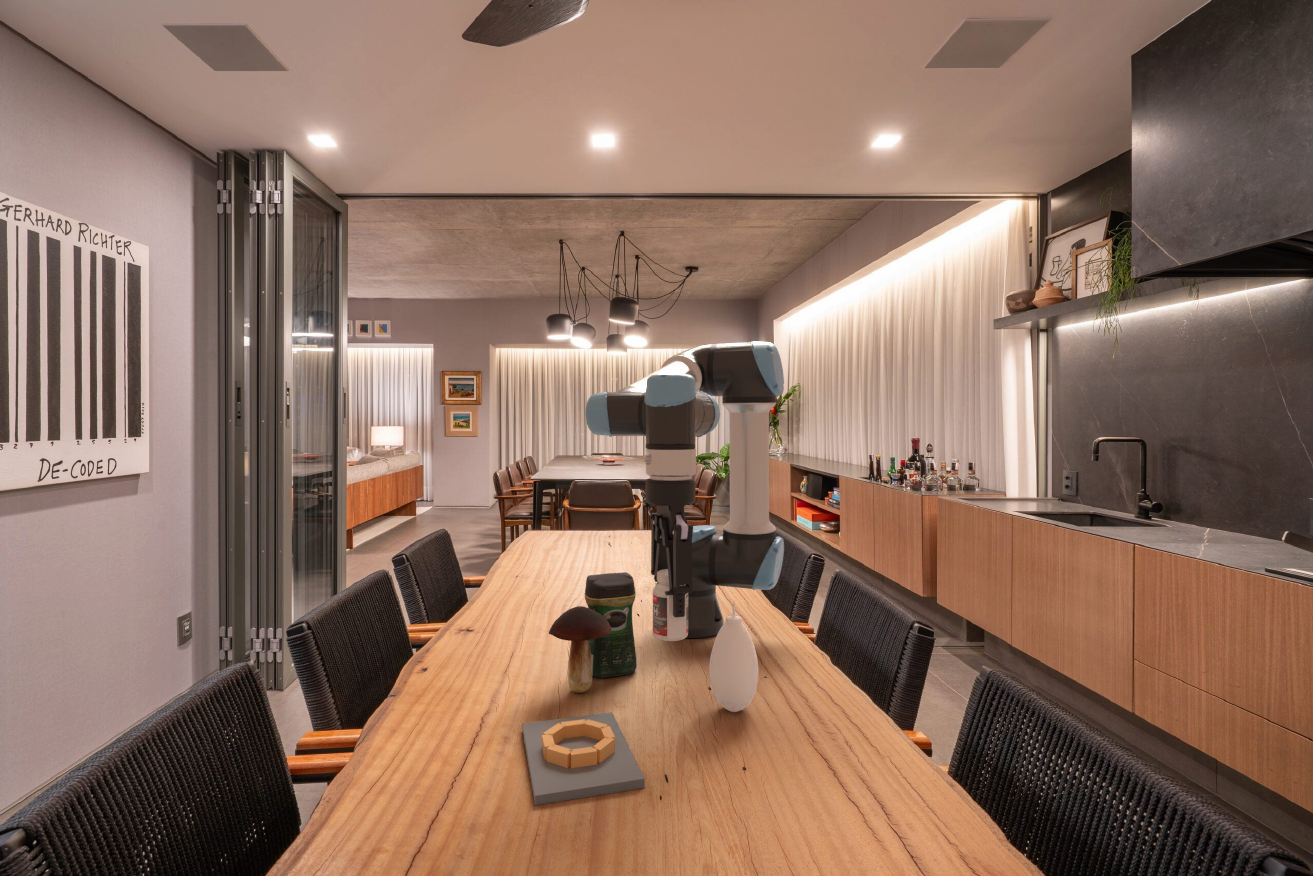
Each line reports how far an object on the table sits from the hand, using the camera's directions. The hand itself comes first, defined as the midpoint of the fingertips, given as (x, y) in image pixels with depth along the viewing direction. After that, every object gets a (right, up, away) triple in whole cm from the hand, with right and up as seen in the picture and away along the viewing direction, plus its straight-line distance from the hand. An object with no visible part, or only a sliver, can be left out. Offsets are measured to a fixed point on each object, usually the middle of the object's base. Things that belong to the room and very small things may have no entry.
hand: (670, 630), depth 98 cm
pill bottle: (0, -1, 0) cm, 1 cm away
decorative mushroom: (-15, -16, +16) cm, 27 cm away
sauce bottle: (+11, -16, +9) cm, 21 cm away
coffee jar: (-11, -15, +25) cm, 32 cm away
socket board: (-13, -16, -6) cm, 22 cm away
